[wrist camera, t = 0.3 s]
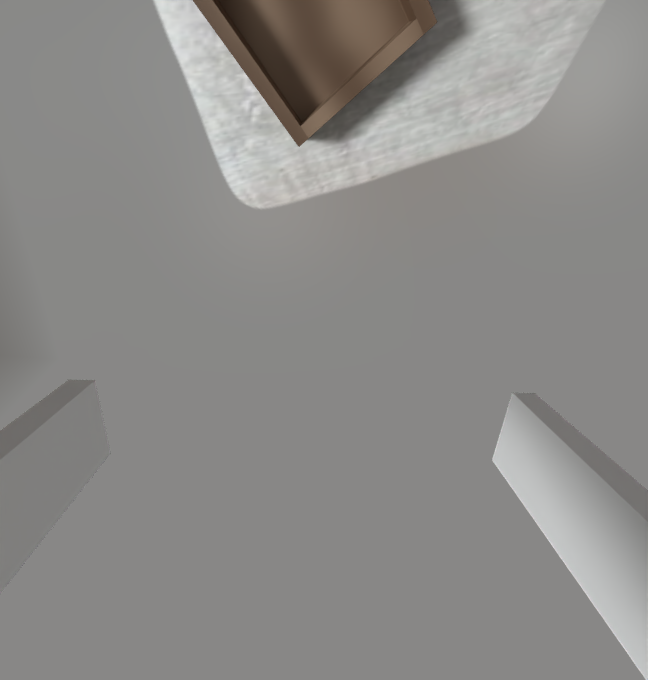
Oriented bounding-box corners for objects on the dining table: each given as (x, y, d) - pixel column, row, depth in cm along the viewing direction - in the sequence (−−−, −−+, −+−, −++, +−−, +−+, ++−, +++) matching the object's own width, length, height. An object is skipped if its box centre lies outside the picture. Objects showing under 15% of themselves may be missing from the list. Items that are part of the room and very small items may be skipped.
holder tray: (326, -200, 20) (328, -242, 17) (424, 26, 26) (437, 22, 23) (190, -17, 24) (173, -27, 21) (300, 139, 30) (298, 147, 27)
